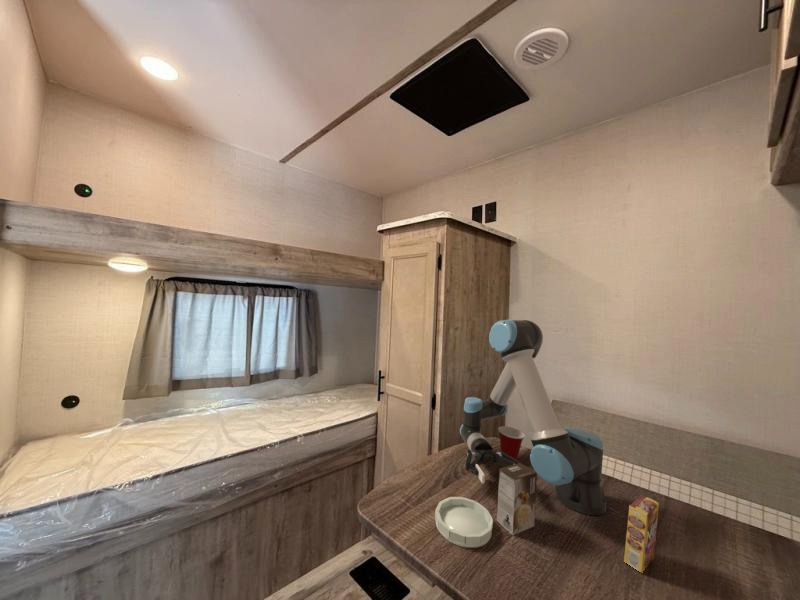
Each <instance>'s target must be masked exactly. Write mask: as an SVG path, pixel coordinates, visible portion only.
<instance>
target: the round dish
mask: <svg viewBox="0 0 800 600" xmlns="http://www.w3.org/2000/svg"><path fill="white" fill-rule="evenodd" d="M434 519H435V527H436V528H437V531H438V532H439V533H440V535H441V536H442V537H443V538H444V539H445V540H447V541H448V542H450V543H452V544H454V545H456V546H458V547H461V548H466V549H468V548H469V549H475V548H480V547H484V546H485V545H487V544H488V543H489V541H490V540H491V538H492V535H493V528H494V527H493V526H494V525H493V524H494V519H493V517H492V515H491V513H490V512H489V510H488V509H487V508H486V507H485V506H484V505H482V504H480V503H479V502H478V501H476V500H473V499H471V498H467V497H464V496H449V497H446V498H444V499H443V500H441V501H439V502H438V504H437V506H436V508H435V512H434Z"/></svg>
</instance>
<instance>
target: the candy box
mask: <svg viewBox="0 0 800 600" xmlns="http://www.w3.org/2000/svg"><path fill="white" fill-rule="evenodd" d="M659 506H660V504H659V502H658V501H656V500H654V499H652V498H650V497H647V496H645V495H642V494H640V495H639V496H638V497H637V498H636V499H635V500H634V501H633V502H632V503H631V504H629V506H628V515H627V516H628V517H627V526H626V533H625V534H626V535H625V536H626V537H625V546H624V556H623V557H624V558H623V563H624V562H625V563H624V564H626V563H627V564H628V566H629V565H630V566H631V568H632V567H633V568H634V569H633V568H632V569H633V570H635V569H636V570H637V571H636V570H635V571H636V572H638V571H639V572H641V573H642V574H643V573H644V572H645V570H646V569H647V568H648V566H649V565H650V564H651V563H650V561H651V560H652V559H653V558H654V559H655V551H656V542H657V540H656V539H657V528H658V517H659V516H658V515H659ZM654 559H653V560H654ZM653 560H652V561H653ZM652 561H651V562H652ZM649 563H650V564H649ZM627 564H626V565H627ZM648 564H649V565H648ZM647 565H648V566H647ZM630 566H629V567H630ZM646 567H647V568H646ZM645 568H646V569H645ZM643 571H644V572H643ZM639 572H638V573H639ZM641 573H640V574H641Z"/></svg>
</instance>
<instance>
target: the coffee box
mask: <svg viewBox="0 0 800 600" xmlns="http://www.w3.org/2000/svg"><path fill="white" fill-rule="evenodd" d="M521 463H522V462H521ZM521 463H518V464H514V465H511V466H507V467H505V466H503V467H501V468H499V470H498V471H499V473H498V474H499V475H498V492H497V494H498V495H497V513H496V514H497V515H496V521H498V522H499V524H500V526H502V527H503V528H504V530H506V531H507V532H508V531H509V532H508V533H509V534H510V535H512V536H515V535H518V534H520V533H522V532H524V531H526V530H529V529H531V528H533V527H535V522H536V521H535V520H536V501H537V499H536V498H537V476H538V474H537V473H536V472H535V470H534V469H531V468H530V467H528V466H526V465H525V464H523V463H522V464H521ZM498 522H497V523H498Z"/></svg>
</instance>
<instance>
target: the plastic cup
mask: <svg viewBox="0 0 800 600" xmlns="http://www.w3.org/2000/svg"><path fill="white" fill-rule="evenodd" d="M497 429H498V434H499V442H500V444H499V445H500V450H502V451H503V452H504V453H505V454H507V455H509V456H511V457H513V458H514V459H516V460H518V456H519V453H520V449H521V446H522V442H523V440H524V439H525V437H526V435H525V433H524V432H522V431H521V430H520V429H517V428H514V427H512V426H507V425H506V426H505V425H502V426H499V427H498V428H497Z"/></svg>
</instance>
